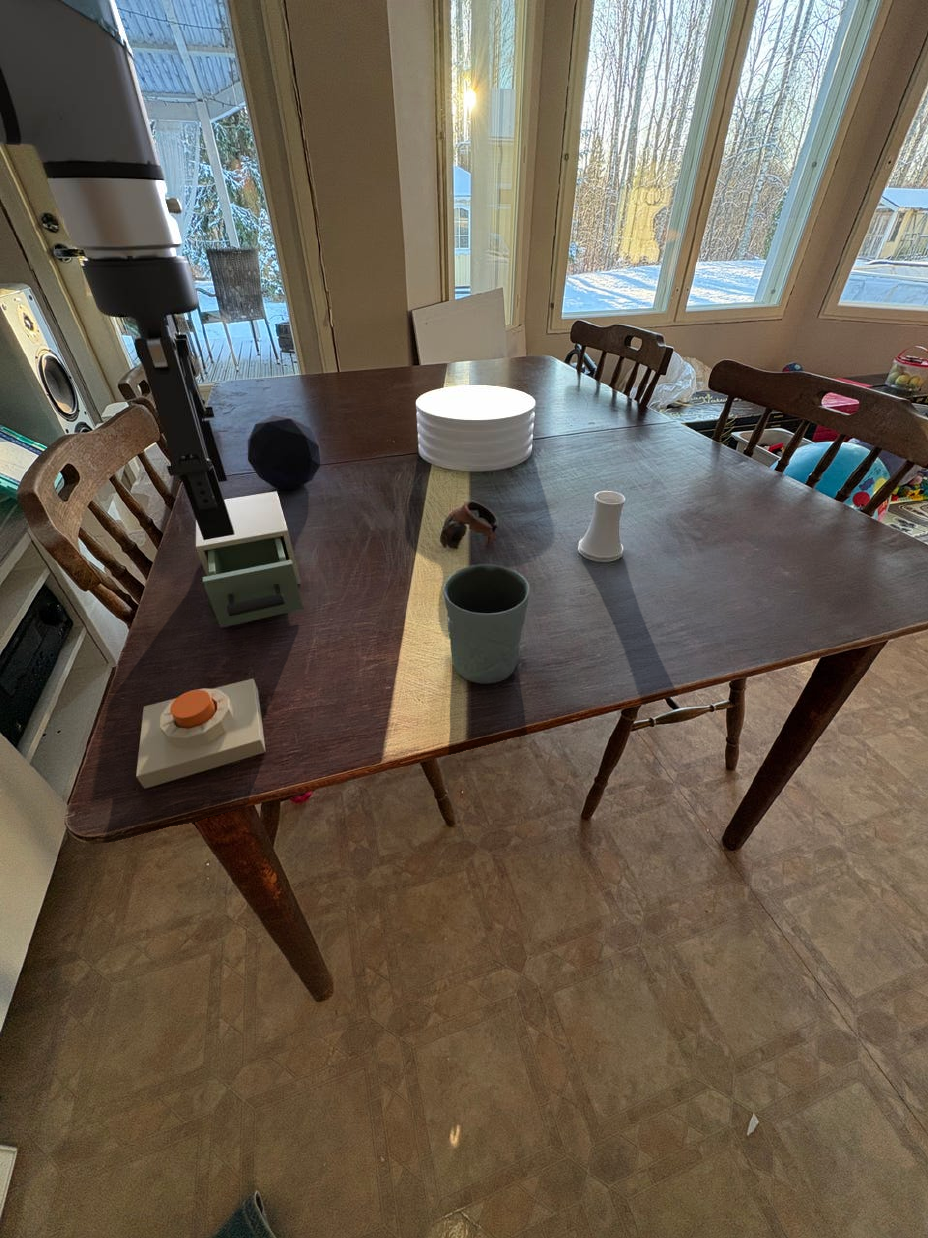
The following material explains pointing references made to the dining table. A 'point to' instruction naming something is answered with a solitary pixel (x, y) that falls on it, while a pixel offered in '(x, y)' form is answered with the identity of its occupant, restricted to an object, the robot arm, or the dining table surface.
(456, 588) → the green cup
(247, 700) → the control block
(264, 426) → the decorative orb
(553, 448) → the dining table surface
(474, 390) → the plate stack
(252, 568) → the green drawer
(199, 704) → the button
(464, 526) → the brown curved piece
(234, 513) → the white drawer cabinet
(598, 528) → the vase
